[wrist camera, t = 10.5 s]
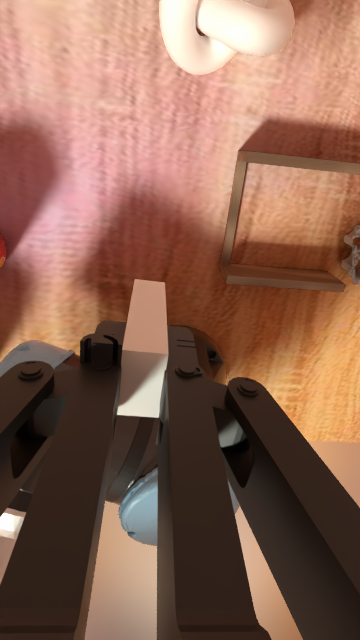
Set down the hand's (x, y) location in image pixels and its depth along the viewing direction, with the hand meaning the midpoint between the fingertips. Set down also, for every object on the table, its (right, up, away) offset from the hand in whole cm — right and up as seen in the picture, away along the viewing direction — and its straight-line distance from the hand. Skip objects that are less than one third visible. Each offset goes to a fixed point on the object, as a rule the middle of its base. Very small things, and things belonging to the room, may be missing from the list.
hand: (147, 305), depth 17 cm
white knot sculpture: (+5, +28, +16) cm, 33 cm away
